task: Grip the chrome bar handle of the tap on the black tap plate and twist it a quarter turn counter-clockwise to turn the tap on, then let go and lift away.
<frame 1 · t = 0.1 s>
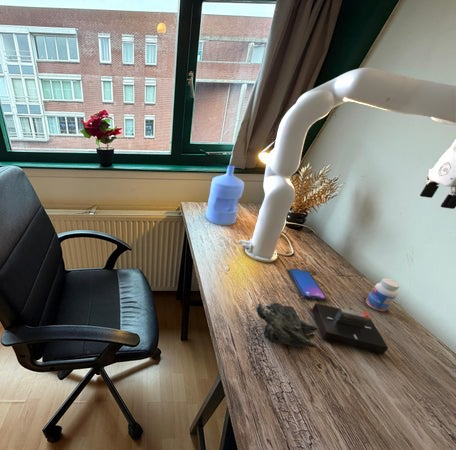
hand: (435, 202, 77), 31 cm above the table, tool pointing down, fingers open, 9 cm apart
tap handle: (352, 317, 67), point 5 cm above the table, hinge at 0.0°
smartphone: (305, 284, 86), on the table
tap plate: (344, 330, 69), on the table
pill bottle: (375, 305, 79), on the table
mineral specimen: (280, 336, 67), on the table
water jug: (220, 219, 129), on the table
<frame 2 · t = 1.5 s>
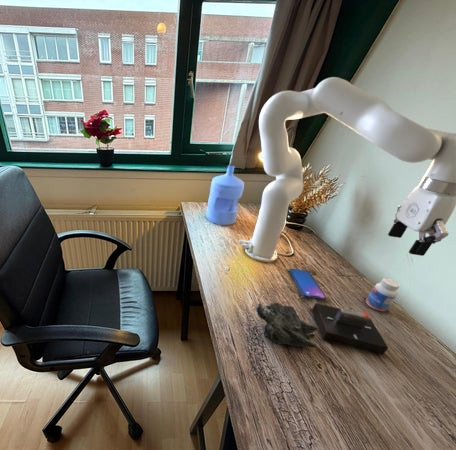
hand: (404, 244, 69), 23 cm above the table, tool pointing down, fingers open, 9 cm apart
nothing on the table moved.
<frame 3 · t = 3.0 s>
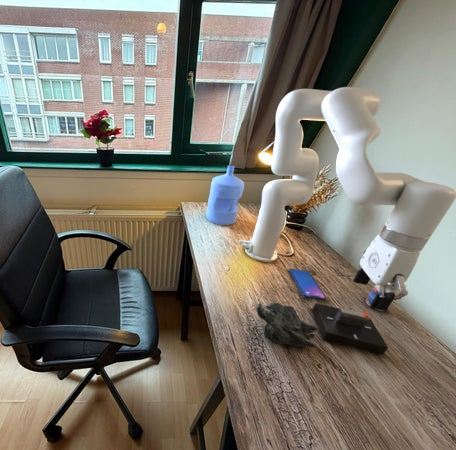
hand: (367, 295, 63), 14 cm above the table, tool pointing down, fingers open, 9 cm apart
nothing on the table moved.
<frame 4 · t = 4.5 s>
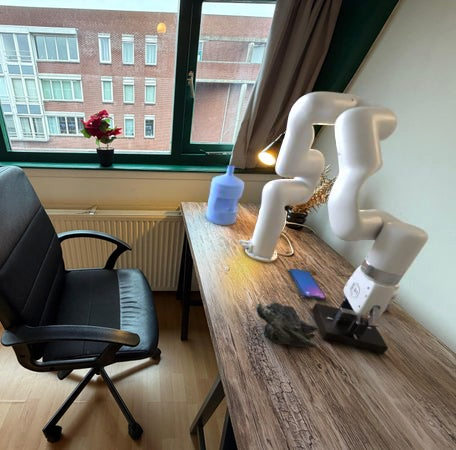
hand: (349, 321, 68), 4 cm above the table, tool pointing down, fingers open, 6 cm apart
nothing on the table moved.
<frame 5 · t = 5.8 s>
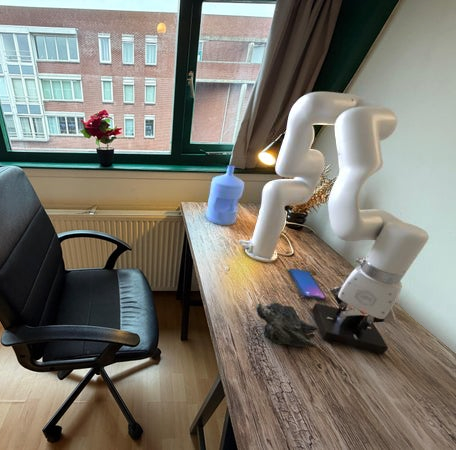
hand: (349, 322, 68), 3 cm above the table, tool pointing down, fingers open, 4 cm apart
tap handle: (352, 317, 67), point 5 cm above the table, hinge at 22.4°, touching gripper
everything else where it was.
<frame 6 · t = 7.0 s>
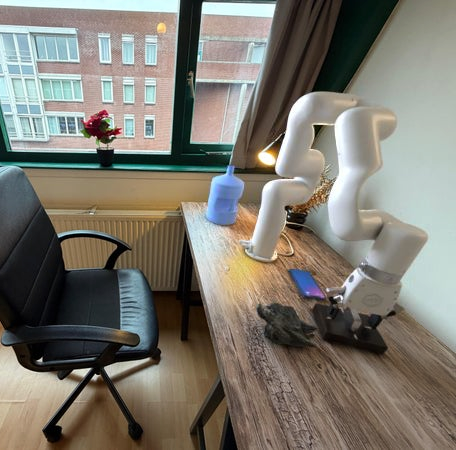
hand: (350, 320, 68), 4 cm above the table, tool pointing down, fingers open, 9 cm apart
tap handle: (352, 317, 67), point 5 cm above the table, hinge at 83.3°
everything else where it was.
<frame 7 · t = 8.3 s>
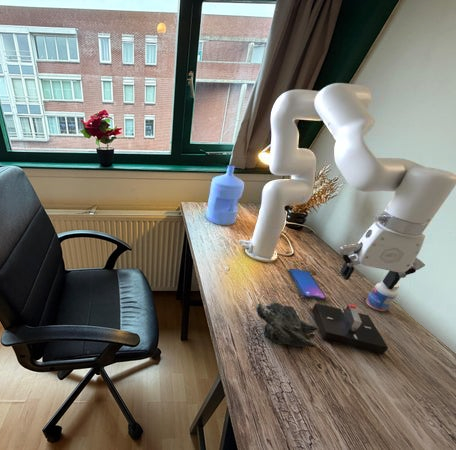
hand: (364, 281, 63), 16 cm above the table, tool pointing down, fingers open, 9 cm apart
nothing on the table moved.
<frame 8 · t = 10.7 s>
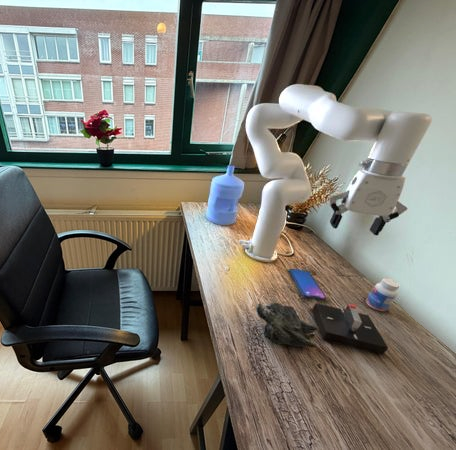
hand: (352, 229, 67), 26 cm above the table, tool pointing down, fingers open, 9 cm apart
nothing on the table moved.
at the end: tap handle at +83° (first picture: +0°) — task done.
